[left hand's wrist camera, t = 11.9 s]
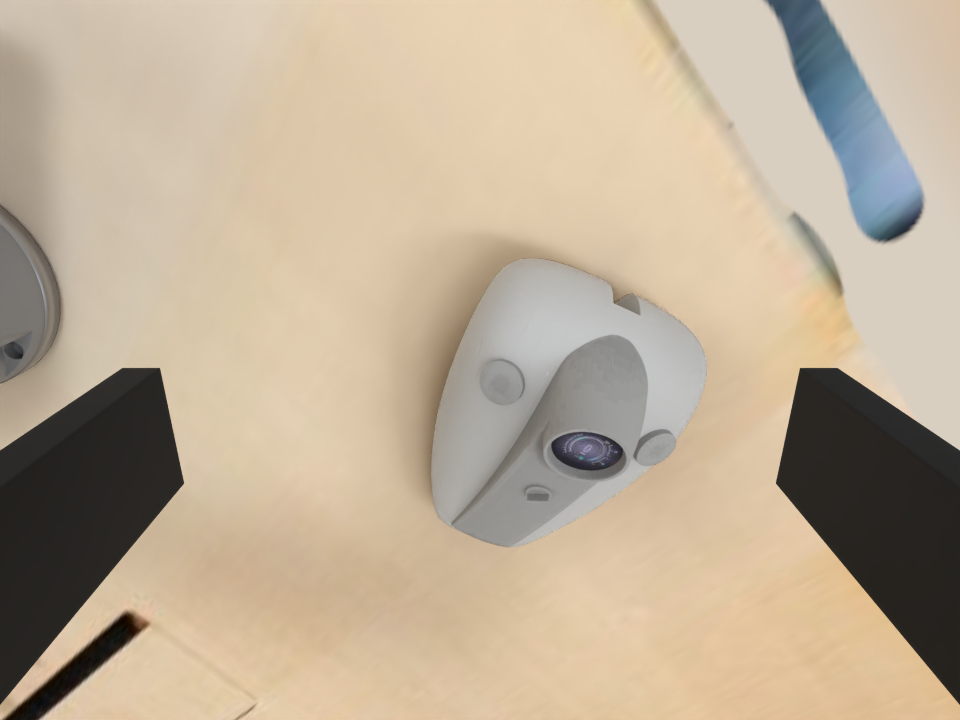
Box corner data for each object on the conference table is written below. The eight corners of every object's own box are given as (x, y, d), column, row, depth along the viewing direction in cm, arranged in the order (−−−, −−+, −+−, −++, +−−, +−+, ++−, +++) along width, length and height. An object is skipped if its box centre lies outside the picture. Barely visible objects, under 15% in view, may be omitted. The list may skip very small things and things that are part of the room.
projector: (345, 319, 45) (286, 404, 31) (639, 195, 41) (717, 229, 28) (464, 543, 52) (458, 691, 38) (721, 453, 49) (815, 579, 35)
